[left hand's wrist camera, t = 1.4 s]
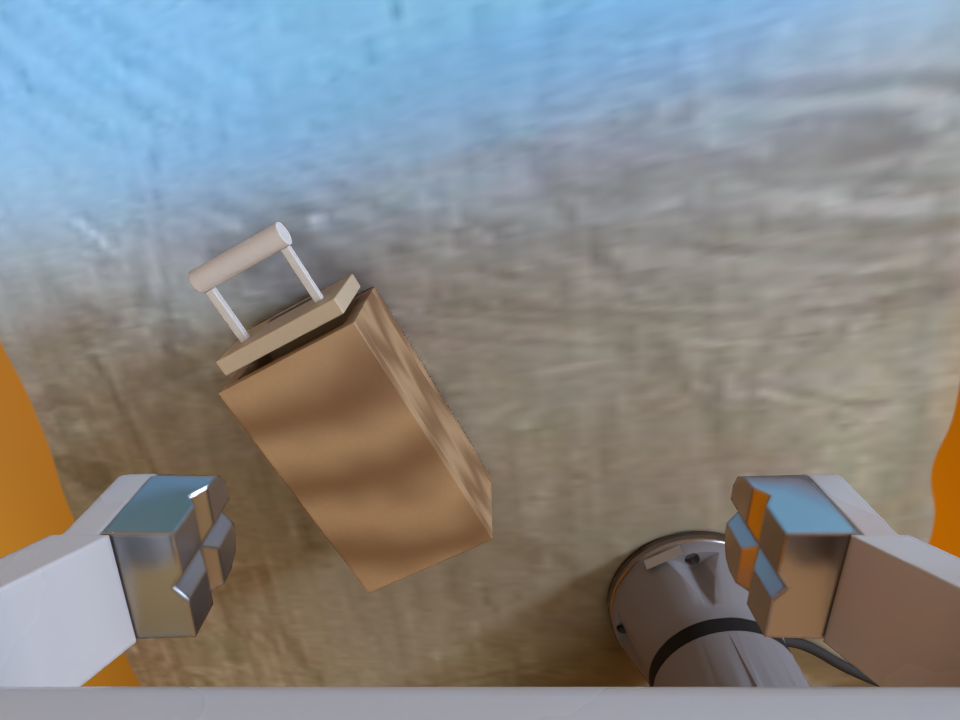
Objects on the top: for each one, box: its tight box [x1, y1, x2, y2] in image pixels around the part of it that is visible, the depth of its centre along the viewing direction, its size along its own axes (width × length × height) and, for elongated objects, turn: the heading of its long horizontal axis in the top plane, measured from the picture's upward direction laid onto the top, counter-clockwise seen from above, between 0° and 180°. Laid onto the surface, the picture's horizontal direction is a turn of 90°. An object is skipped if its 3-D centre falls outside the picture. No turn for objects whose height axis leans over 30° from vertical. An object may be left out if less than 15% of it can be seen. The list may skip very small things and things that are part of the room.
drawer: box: [188, 222, 360, 376], centre depth 48 cm, size 24×10×6 cm, turn 28°
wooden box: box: [218, 287, 493, 593], centre depth 50 cm, size 19×11×9 cm, turn 28°
